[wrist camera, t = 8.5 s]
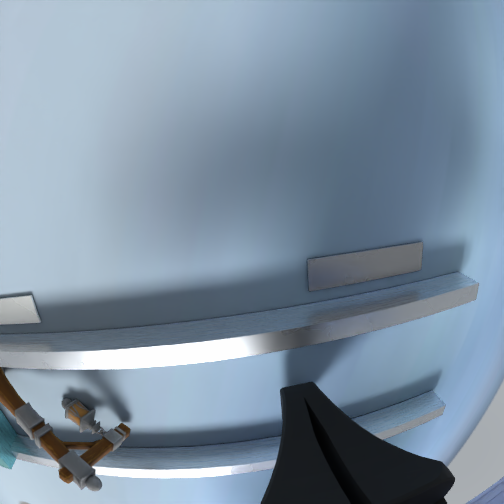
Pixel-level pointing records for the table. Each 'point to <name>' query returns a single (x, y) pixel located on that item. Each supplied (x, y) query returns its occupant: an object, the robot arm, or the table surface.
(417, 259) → the guide rail
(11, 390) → the wooden post with brackets
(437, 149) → the table surface
